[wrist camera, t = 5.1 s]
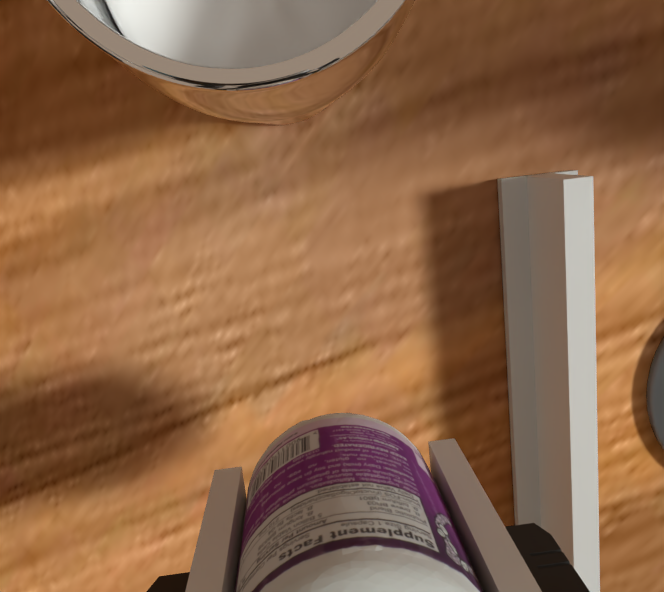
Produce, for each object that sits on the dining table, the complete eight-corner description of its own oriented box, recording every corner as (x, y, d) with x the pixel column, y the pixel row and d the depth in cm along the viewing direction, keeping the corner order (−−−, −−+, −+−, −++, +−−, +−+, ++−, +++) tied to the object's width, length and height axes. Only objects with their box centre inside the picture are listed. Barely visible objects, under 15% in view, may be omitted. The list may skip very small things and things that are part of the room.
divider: (517, 573, 28) (551, 639, 24) (497, 178, 24) (533, 183, 20) (581, 565, 28) (625, 630, 24) (572, 170, 24) (623, 172, 20)
